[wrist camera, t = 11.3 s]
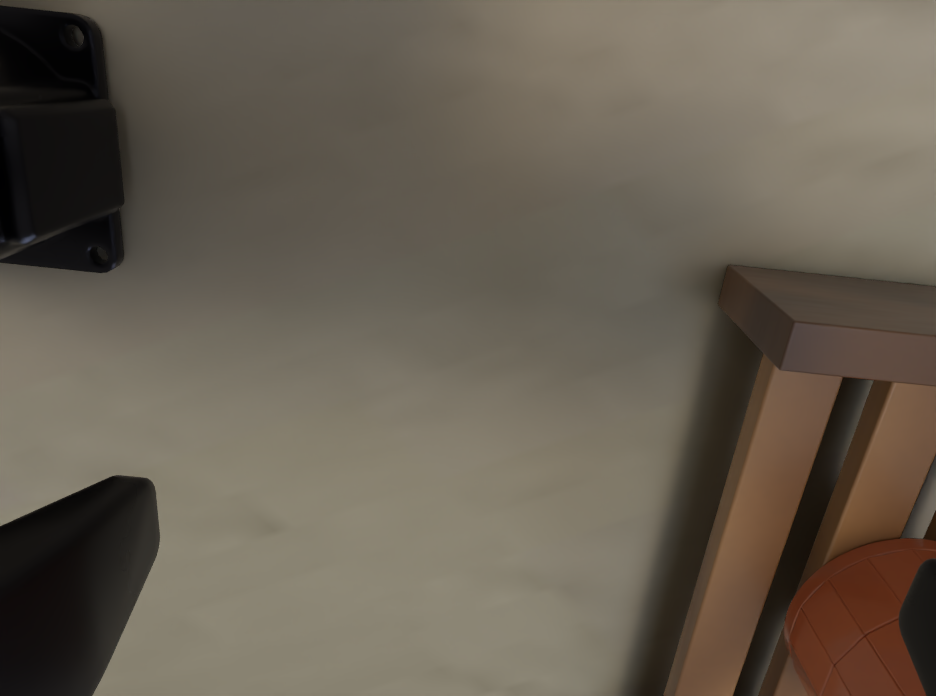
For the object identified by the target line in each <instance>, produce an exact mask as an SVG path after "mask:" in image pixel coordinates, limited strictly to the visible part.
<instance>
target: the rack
mask: <svg viewBox="0 0 936 696" xmlns="http://www.w3.org/2000/svg"><path fill="white" fill-rule="evenodd" d="M718 305H719V307H720V308H721V309H722V310H723V311H724V312H725V313H726V314H727V315H728V316H729V317H730V318H731V319H732V320H733V321H734V323H735V324H736V325H737V326H738V327H739V328H740V329H741V330H742V331H743V332H744V333H745V334H746V335H747V336H748V337H749V338H750V340H751V341H752V342H753V343H754V344H755V345H756V346H757V347H758V348H759V349H760V350H761V351H762V352H763V356H762V360H761V363H760V367H759V370H758V374H757V377H756V380H755V384H754V387H753V391H752V394H751V397H750V401H749V404H748V408H747V411H746V415H745V418H744V421H743V425H742V428H741V432H740V435H739V439H738V442H737V445H736V449H735V452H734V456H733V459H732V463H731V466H730V469H729V473H728V476H727V480H726V483H725V486H724V490H723V493H722V497H721V500H720V504H719V507H718V510H717V514H716V517H715V521H714V524H713V528H712V531H711V534H710V538H709V541H708V545H707V548H706V552H705V555H704V558H703V562H702V565H701V569H700V572H699V576H698V579H697V582H696V586H695V589H694V593H693V596H692V599H691V603H690V606H689V610H688V613H687V617H686V620H685V623H684V627H683V630H682V634H681V637H680V641H679V644H678V647H677V651H676V654H675V658H674V661H673V665H672V668H671V671H670V675H669V678H668V682H667V685H666V688H665V692H664V695H663V696H733V694H734V691H735V688H736V685H737V682H738V679H739V676H740V673H741V671H742V668H743V665H744V662H745V659H746V656H747V653H748V650H749V647H750V645H751V642H752V639H753V636H754V633H755V630H756V627H757V624H758V622H759V619H760V616H761V613H762V610H763V607H764V604H765V601H766V598H767V596H768V593H769V590H770V587H771V584H772V581H773V578H774V575H775V573H776V570H777V567H778V564H779V561H780V558H781V555H782V552H783V549H784V547H785V544H786V541H787V538H788V535H789V532H790V529H791V526H792V524H793V521H794V518H795V515H796V512H797V509H798V506H799V503H800V500H801V498H802V495H803V492H804V489H805V486H806V483H807V480H808V477H809V475H810V472H811V469H812V466H813V463H814V460H815V457H816V454H817V452H818V449H819V446H820V443H821V440H822V437H823V434H824V431H825V428H826V426H827V423H828V420H829V417H830V414H831V411H832V408H833V405H834V403H835V400H836V397H837V394H838V391H839V388H840V385H841V382H842V379H843V377H848V378H857V379H867V380H874V381H873V384H872V387H871V389H870V392H869V395H868V398H867V400H866V403H865V406H864V408H863V411H862V414H861V417H860V419H859V422H858V425H857V428H856V430H855V433H854V436H853V438H852V441H851V444H850V447H849V449H848V452H847V455H846V457H845V460H844V463H843V466H842V468H841V471H840V474H839V477H838V479H837V482H836V485H835V487H834V490H833V493H832V496H831V498H830V501H829V504H828V507H827V509H826V512H825V515H824V517H823V520H822V523H821V526H820V528H819V531H818V534H817V537H816V539H815V542H814V545H813V547H812V550H811V553H810V556H809V558H808V561H807V564H806V566H805V569H804V572H803V575H802V577H801V580H800V583H799V586H798V588H797V591H798V590H799V588H800V587H801V586H802V585H803V584H804V582H805V581H806V580H807V579H808V578H809V577H810V576H811V575H812V574H813V573H815V572H816V571H817V570H818V569H820V568H821V567H822V566H823V565H825V564H826V563H828V562H829V561H831V560H833V559H834V558H836V557H838V556H839V555H842V554H844V553H846V552H848V551H850V550H852V549H855V548H858V547H861V546H863V545H866V544H870V543H874V542H878V541H883V540H890V539H900V537H901V535H902V532H903V530H904V528H905V525H906V523H907V521H908V518H909V516H910V514H911V511H912V509H913V507H914V504H915V502H916V500H917V497H918V495H919V493H920V490H921V488H922V485H923V483H924V481H925V478H926V476H927V474H928V471H929V469H930V467H931V464H932V462H933V460H934V457H935V455H936V287H934V286H924V285H915V284H905V283H896V282H886V281H877V280H867V279H858V278H848V277H839V276H829V275H820V274H810V273H801V272H791V271H782V270H773V269H763V268H754V267H744V266H735V265H728V267H727V271H726V275H725V278H724V282H723V286H722V290H721V294H720V298H719V302H718ZM923 539H927V540H934V541H936V511H935V513H934V516H933V518H932V520H931V522H930V525H929V527H928V529H927V531H926V534H925V536H924V538H923ZM797 591H796V593H797ZM758 696H808V695H807V693H806V691H805V689H804V687H803V685H802V683H801V681H800V679H799V677H798V675H797V673H796V671H795V669H794V667H793V661H792V659H791V657H790V655H789V653H788V651H787V648H786V644H785V640H784V626H783V629H782V632H781V635H780V637H779V640H778V643H777V646H776V648H775V651H774V654H773V656H772V659H771V662H770V665H769V667H768V670H767V673H766V675H765V678H764V681H763V684H762V686H761V689H760V692H759V695H758Z"/></svg>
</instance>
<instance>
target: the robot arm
mask: <svg viewBox="0 0 936 696" xmlns="http://www.w3.org/2000/svg"><path fill="white" fill-rule="evenodd" d="M76 26H77V27H78V28H79V29H80V30H81V31H82V34H83V36H84V39H83V43H82V45H81V46H80V47H79V46H78V45H77V44H76V43H75V42H74V41H73V38H72V30H73V29H74V28H75V27H76ZM123 204H124V193H123V182H122V172H121V162H120V151H119V141H118V131H117V120H116V111H115V109H114V108H113V106H112V105H111V104H110V103H109V101H108V91H107V81H106V71H105V61H104V51H103V41H102V36H101V32H100V30H99V28H98V27H97V25H96V24H95V22H93V21H92V20H91V19H90V18H88V17H86V16H83V15H80V14H72V13H63V12H53V11H44V10H35V9H26V8H16V7H7V6H0V263H10V264H19V265H29V266H39V267H48V268H58V269H67V270H77V271H86V272H96V273H105V272H109V271H110V270H112V269H114V268H116V267H118V266H119V265H120V264H121V263H122V261H123V256H124V251H123V241H122V231H121V221H120V211H119V208H120V207H121V206H122V205H123ZM97 246H98V247H101V248H103V249H104V250H105V251H106V253H107V256H108V258H107V261H106V260H103V259H102V258H101V257H100V256H98V253H97ZM159 542H160V532H159V521H158V511H157V500H156V491H155V487H154V484H153V482H152V481H150V480H149V479H148V478H141V477H132V476H122V475H116V476H112V477H109V478H107V479H105V480H102V481H100V482H98V483H96V484H94V485H91V486H89V487H87V488H85V489H82V490H80V491H78V492H76V493H73V494H71V495H69V496H67V497H65V498H62V499H60V500H58V501H56V502H53V503H51V504H49V505H47V506H44V507H42V508H40V509H38V510H36V511H33V512H31V513H29V514H27V515H24V516H22V517H20V518H18V519H15V520H13V521H11V522H9V523H7V524H4V525H2V526H0V696H92V695H93V693H94V691H95V689H96V688H97V686H98V684H99V682H100V680H101V678H102V676H103V674H104V672H105V670H106V668H107V666H108V664H109V662H110V659H111V657H112V655H113V653H114V651H115V648H116V646H117V644H118V642H119V639H120V637H121V635H122V633H123V630H124V628H125V626H126V624H127V621H128V619H129V617H130V615H131V612H132V610H133V608H134V606H135V603H136V601H137V599H138V597H139V594H140V592H141V590H142V588H143V585H144V583H145V581H146V579H147V576H148V574H149V572H150V570H151V567H152V565H153V563H154V561H155V558H156V556H157V552H158V549H159ZM899 628H900V632H901V636H902V638H903V640H904V643H905V645H906V648H907V650H908V653H909V655H910V657H911V660H912V662H913V665H914V667H915V670H916V672H917V674H918V677H919V679H920V682H921V684H922V687H923V689H924V691H925V694H926V696H936V558H931V559H927V560H925V561H924V562H923V563H922V564H921V565H920V567H919V568H918V570H917V573H916V575H915V577H914V579H913V582H912V584H911V586H910V588H909V590H908V593H907V595H906V597H905V599H904V602H903V604H902V606H901V609H900V612H899Z"/></svg>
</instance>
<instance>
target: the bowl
mask: <svg viewBox="0 0 936 696" xmlns="http://www.w3.org/2000/svg"><path fill="white" fill-rule="evenodd" d="M931 558H936V541H934V540H927V539H918V538H900V539H890V540H883V541H878V542H874V543H870V544H866V545H863V546H861V547H858V548H855V549H852V550H850V551H848V552H846V553H844V554H842V555H839V556H838V557H836V558H834V559H833V560H831V561H829V562H828V563H826V564H825V565H823V566H822V567H821V568H820V569H818V570H817V571H816V572H815V573H813V574H812V575H811V576H810V577H809V578H808V579H807V580H806V581H805V582H804V584H803V585H802V586H801V587H800V588H799V590H798V591H797V593H796V594H795V596H794V597H793V599H792V601H791V603H790V605H789V608H788V610H787V614H786V617H785V623H784V640H785V644H786V648H787V651H788V653H789V655H790V657H791V659H792V661H793V667H794V669H795V671H796V673H797V675H798V677H799V679H800V681H801V683H802V685H803V687H804V689H805V691H806V693H807V695H808V696H926V694H925V691H924V689H923V687H922V684H921V682H920V679H919V677H918V674H917V672H916V670H915V667H914V665H913V662H912V660H911V657H910V655H909V653H908V650H907V648H906V645H905V643H904V640H903V638H902V636H901V632H900V628H899V612H900V609H901V606H902V604H903V602H904V599H905V597H906V595H907V593H908V590H909V588H910V586H911V584H912V582H913V579H914V577H915V575H916V573H917V570H918V568H919V567H920V565H921V564H922V563H923V562H924V561H925V560H927V559H931Z"/></svg>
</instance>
